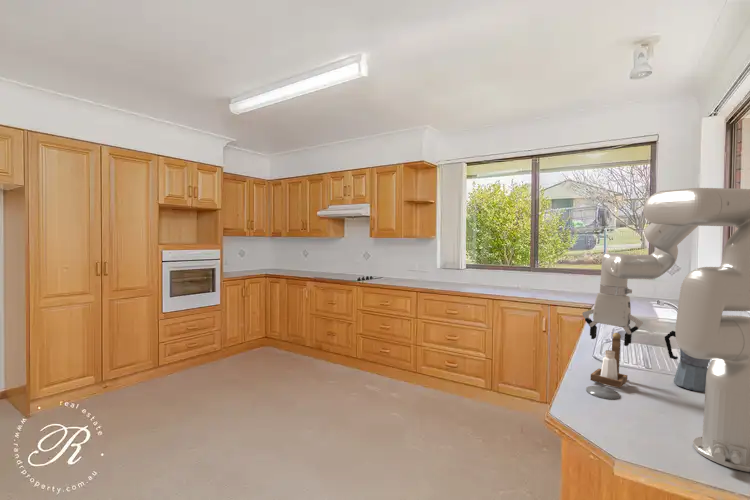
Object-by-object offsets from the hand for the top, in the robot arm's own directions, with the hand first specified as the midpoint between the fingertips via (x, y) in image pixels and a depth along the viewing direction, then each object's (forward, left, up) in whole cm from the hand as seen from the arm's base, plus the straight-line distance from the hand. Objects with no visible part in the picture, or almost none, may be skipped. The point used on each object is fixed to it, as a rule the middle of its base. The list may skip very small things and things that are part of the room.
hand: (609, 341), depth 127 cm
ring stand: (+2, 0, -14) cm, 14 cm away
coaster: (-11, -1, -14) cm, 18 cm away
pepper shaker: (0, 0, -14) cm, 14 cm away
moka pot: (+18, -19, -14) cm, 30 cm away
